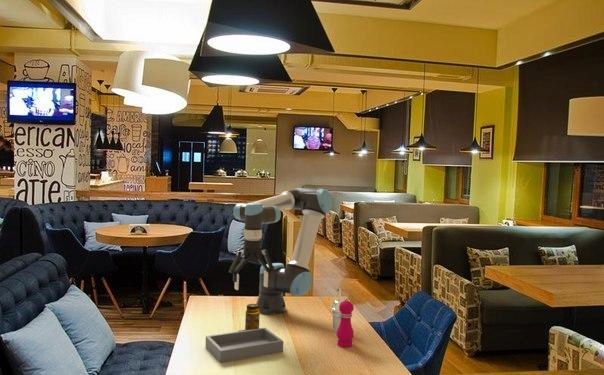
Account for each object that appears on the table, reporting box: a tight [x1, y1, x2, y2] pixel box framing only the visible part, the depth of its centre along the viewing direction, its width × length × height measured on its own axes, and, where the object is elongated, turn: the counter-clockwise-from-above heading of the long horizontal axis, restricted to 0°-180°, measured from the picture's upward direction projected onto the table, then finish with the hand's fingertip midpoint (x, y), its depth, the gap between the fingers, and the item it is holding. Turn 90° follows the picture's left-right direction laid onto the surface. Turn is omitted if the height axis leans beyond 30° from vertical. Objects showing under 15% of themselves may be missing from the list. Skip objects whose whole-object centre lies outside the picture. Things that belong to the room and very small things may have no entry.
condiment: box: [238, 303, 261, 331], centre depth 226 cm, size 7×8×12 cm
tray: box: [205, 327, 284, 364], centre depth 206 cm, size 26×17×4 cm, turn 119°
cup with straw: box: [329, 287, 344, 333], centre depth 232 cm, size 8×9×20 cm
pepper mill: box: [336, 296, 355, 349], centre depth 215 cm, size 7×7×20 cm
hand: (251, 288), depth 225 cm, fingers open, 13 cm apart
